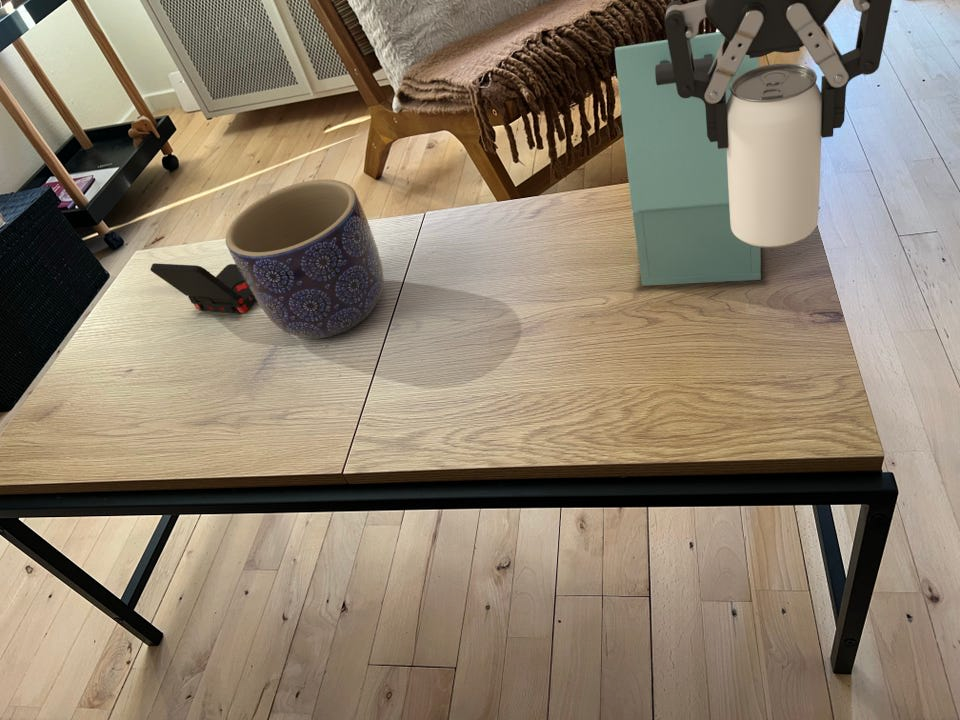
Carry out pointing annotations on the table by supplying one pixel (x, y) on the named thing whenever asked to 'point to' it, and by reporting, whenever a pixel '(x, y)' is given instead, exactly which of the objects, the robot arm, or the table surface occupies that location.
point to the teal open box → (692, 246)
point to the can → (774, 154)
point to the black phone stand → (209, 287)
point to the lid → (670, 128)
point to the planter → (309, 258)
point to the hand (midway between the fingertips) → (773, 137)
